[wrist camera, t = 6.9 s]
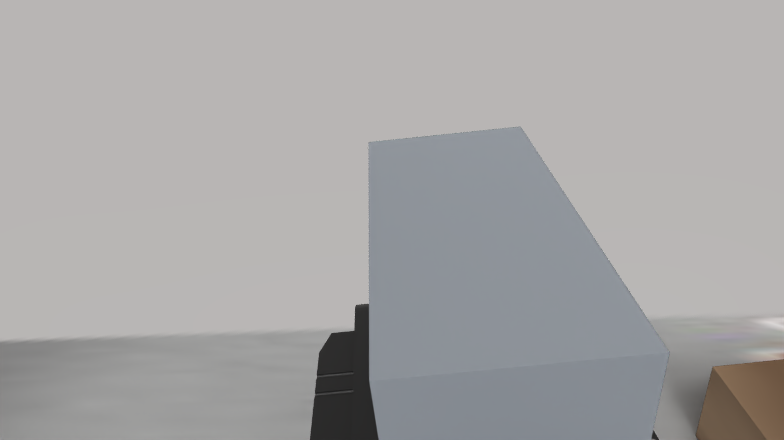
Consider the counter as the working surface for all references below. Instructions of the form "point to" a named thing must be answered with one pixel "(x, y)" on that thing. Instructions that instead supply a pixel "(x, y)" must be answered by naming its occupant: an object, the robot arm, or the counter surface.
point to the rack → (744, 402)
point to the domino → (497, 301)
